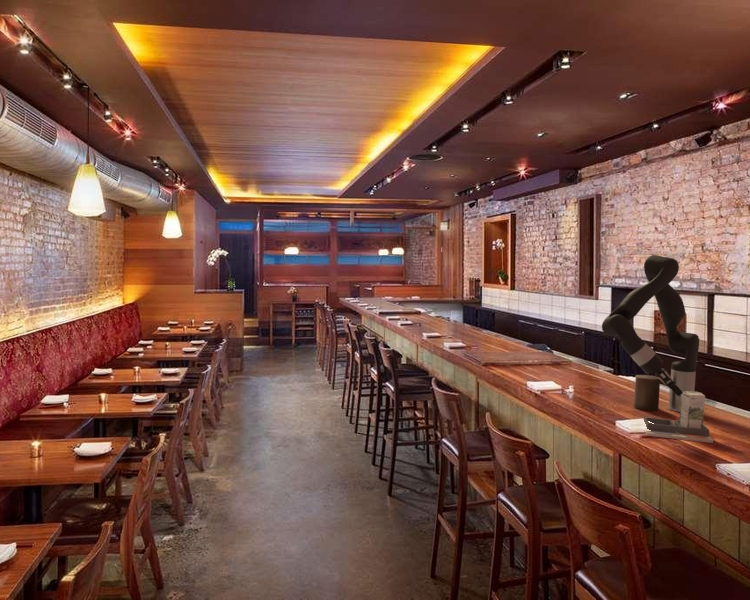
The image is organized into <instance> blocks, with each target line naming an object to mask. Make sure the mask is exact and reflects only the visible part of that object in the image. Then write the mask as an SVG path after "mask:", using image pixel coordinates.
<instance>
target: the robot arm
mask: <svg viewBox="0 0 750 600" xmlns="http://www.w3.org/2000/svg"><path fill="white" fill-rule="evenodd" d="M679 264H680V263H679V261H678V260H677V259H675V258H671V257H667V256H662V255H653V254H652V255H649V256H648V257H647V258H646V259H645V261H644V264H643V265H644V266H643V271H644V275H645V277H646V279H647V283H645V284H643V285H642V286H639V287H637V288H635V289H634V290H632V291H631V292H629V293H628V294H626V296H625V297H624V298H623V300H622V301H620V303H619V304H618V306H617V307H616V308H615V309H614V310H613V311H612V312H611V313H610V314H609V315H608V316H607V317H605V319H604V320H603V322H602V323H601V330H602V332H603V333H604V334H605V335H606V336H609V337H614V336H618V337H619V339H620V340H621V341H620V345H621V347H622V348H623V350H624V351H625V352H626V353H627V354H628V355H629V356H630V357H631V358H632V360H633V362H635V363H636V364H637V365H638V367H639V368H640V369H641V370H642V371H643V372H644V373H645V375H648V374H649V375H650V374H653V373H655V374H654V376H656V377H657V378H658V379H659V380H660V382H662V384H663V385H665V386H667V388H669V395H668V397H669V398H668V409H669V410H670V411H674V412H678V413H680V406H681V394H683V392H682V391H688V392H695V386H696V375H697V373H696V371H697V364H698V356H699V349H700V338H699V335H698V334H696V333H693V332H692V333H691V332H683V331H682V332H681V331H680V330H678V327H679V324H680V323H681V322H682V321H683V319H684V317H685V314H686V307H685V304H684V301H683V298H682V297H681V295H680V294H679V292H677V290H675V288H673V286H671V284H670V283H671V282H672V281H673V280H674V279H675V278H676V277H677V275H678V273H679V270H680V265H679ZM653 297H654V298H655V300H656V303H657V308H658V310H659V313H660V316H661V318H662V322H663V325H664V329H665V334H666V339H667V343H668V344H667V345H668V348H669V350H670V351H671V352H672V353H675V354H681V355H685V358H684V359H682V360H677V361H672V363H671V368H670V371H671V372H670V375H669V373H668V372H667V370H665V368H661V367H662V366H663V364H664V360H663V359H662V358H661V357H660V356H659V355H658V354H657V353H656V352H655V351H654V349H653V348H652V347H650V346H649V345H648V344H647V343H646V342H645V341H644V340H643V339H642V338H641V337H640V336H639V335H638V334H637V331H636V329H634V327H633V324H632V323H631V322H630V320H632V319H634V317H635V318H636V316H637V315H638V313H639V312H640V311H641V310H642V309H643V308H644V306H645V305H646V304H647V303H648V302H649V301H650V300H651V299H652V298H653Z"/></svg>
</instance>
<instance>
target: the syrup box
mask: <svg viewBox="0 0 750 600" xmlns="http://www.w3.org/2000/svg"><path fill="white" fill-rule="evenodd" d="M682 392H683V394H681V406H680V412H679V419H678V421H679V424H680V425H681V427H690V428H700V429H702V426H703V424H704V414H705V413H704V412H705V403H706V395H705V394H703V393H702V392H699V391H694V392H688V391H682Z"/></svg>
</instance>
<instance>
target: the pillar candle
mask: <svg viewBox="0 0 750 600" xmlns="http://www.w3.org/2000/svg"><path fill="white" fill-rule="evenodd" d="M634 380H635V383H634V395H633V396H634V399H633V407H635V409H637V410H641V411H646V412H647V411H648V412H657V410H658V411H659V403H660V390H661V389H660V388H661V387H660V386H661V380H659V379H658V378H657V377H656V376H655V375H650V374H637V375H635V379H634Z"/></svg>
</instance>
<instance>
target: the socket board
mask: <svg viewBox="0 0 750 600" xmlns="http://www.w3.org/2000/svg"><path fill="white" fill-rule="evenodd" d="M643 420H644V422H645V424H646V427H647V429H649V430H651V431H646V433H645V435H646V436H648V437H657V438H666V439H675V440H681V441H682V440H683V441H684V440H685V441H691V442H701V443H709V444H710V443H711V444H714V439H713V438H712V437H711V436H710V429H709V427H707V426H706V424H705V423H703V426H702V429H700V428H690V427H681V425H680V424H679V419H678V420H675V419H674V420H672V419H667V418H658V417H649V416H648V417H646V416H644V417H643V419H642V421H643ZM648 421H650V422H652V423H654V424H652V423H649V422H648Z"/></svg>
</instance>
